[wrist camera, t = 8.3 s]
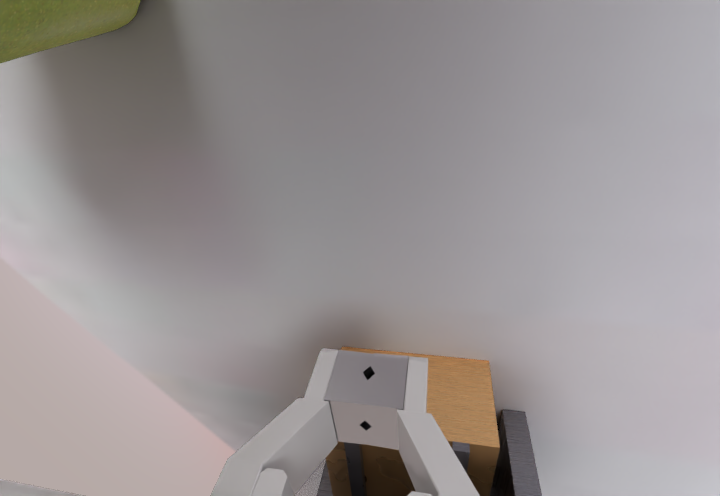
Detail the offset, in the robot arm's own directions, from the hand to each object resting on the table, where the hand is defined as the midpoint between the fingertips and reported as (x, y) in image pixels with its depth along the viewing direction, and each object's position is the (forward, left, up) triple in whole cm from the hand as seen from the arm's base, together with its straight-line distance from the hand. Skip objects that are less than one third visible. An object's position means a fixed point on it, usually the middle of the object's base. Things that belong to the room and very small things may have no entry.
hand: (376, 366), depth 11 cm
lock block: (+12, 0, -8) cm, 14 cm away
